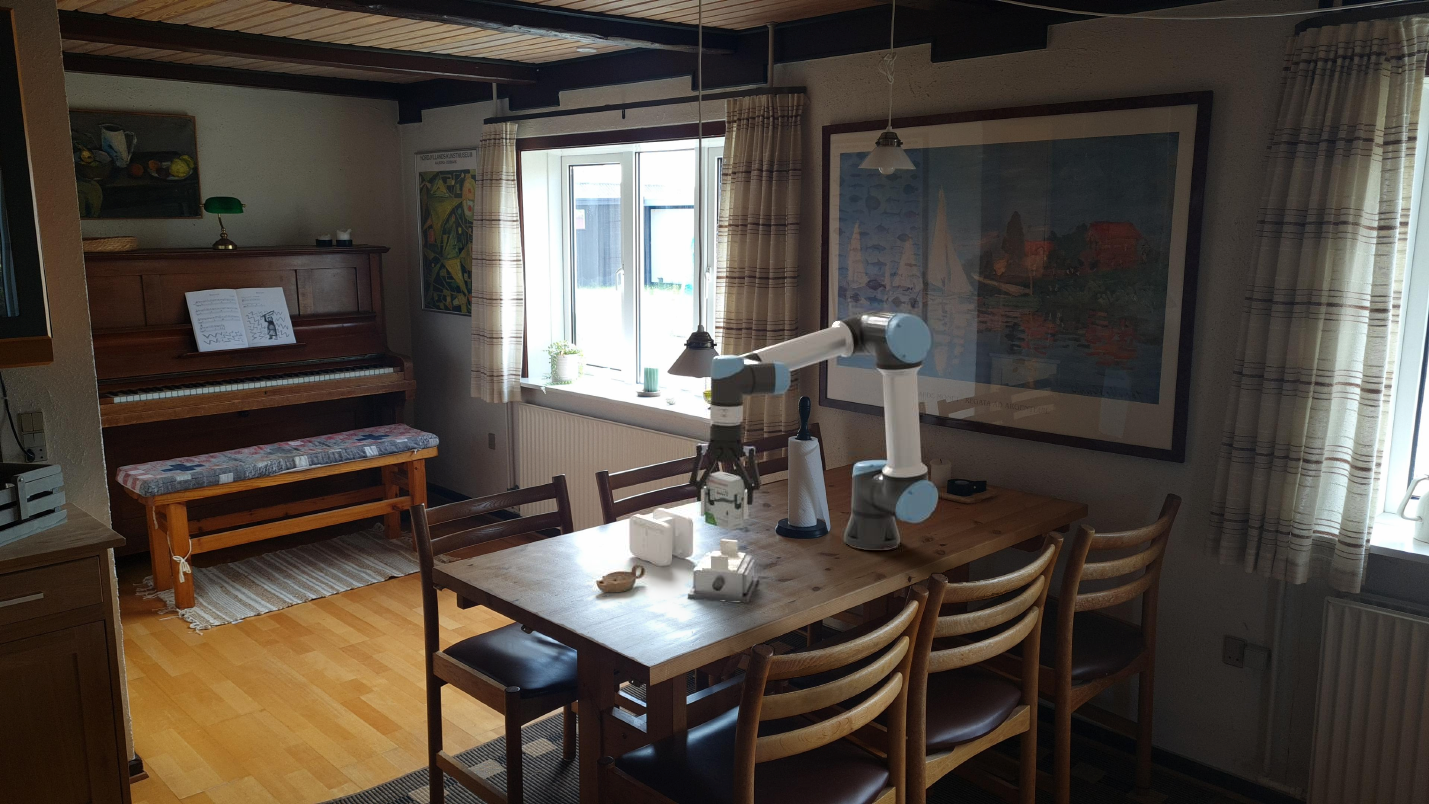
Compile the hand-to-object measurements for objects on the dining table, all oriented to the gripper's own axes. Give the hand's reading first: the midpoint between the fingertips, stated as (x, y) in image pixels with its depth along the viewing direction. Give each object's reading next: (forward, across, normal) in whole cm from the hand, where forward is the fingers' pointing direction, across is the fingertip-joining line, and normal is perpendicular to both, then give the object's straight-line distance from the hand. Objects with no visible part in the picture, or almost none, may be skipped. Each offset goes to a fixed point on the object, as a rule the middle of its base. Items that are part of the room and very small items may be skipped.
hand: (724, 516), depth 231 cm
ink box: (+2, 0, 0) cm, 2 cm away
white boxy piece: (+18, 0, 0) cm, 18 cm away
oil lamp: (+18, -24, -5) cm, 30 cm away
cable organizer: (+18, -20, +18) cm, 33 cm away
